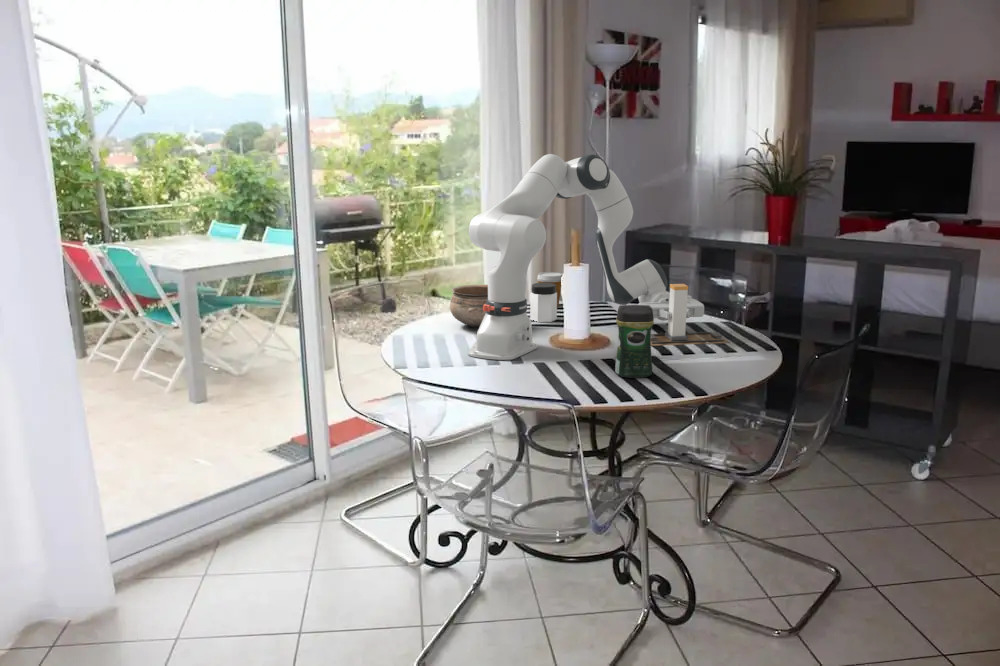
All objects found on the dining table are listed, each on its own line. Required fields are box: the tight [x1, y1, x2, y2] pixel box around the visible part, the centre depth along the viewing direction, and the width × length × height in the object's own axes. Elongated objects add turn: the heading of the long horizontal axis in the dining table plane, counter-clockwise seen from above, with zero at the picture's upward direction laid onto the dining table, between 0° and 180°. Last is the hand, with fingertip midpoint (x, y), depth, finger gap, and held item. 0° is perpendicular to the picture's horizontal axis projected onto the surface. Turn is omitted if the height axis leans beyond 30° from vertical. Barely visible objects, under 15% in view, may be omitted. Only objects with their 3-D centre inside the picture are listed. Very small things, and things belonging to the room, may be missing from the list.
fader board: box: [651, 331, 732, 347], centre depth 242 cm, size 26×13×2 cm, turn 97°
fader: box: [664, 283, 689, 340], centre depth 240 cm, size 5×6×16 cm
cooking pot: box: [449, 284, 488, 330], centre depth 262 cm, size 25×19×12 cm
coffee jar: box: [614, 304, 655, 379], centre depth 209 cm, size 10×8×19 cm
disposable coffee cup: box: [536, 271, 563, 308], centre depth 290 cm, size 10×10×12 cm
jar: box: [529, 282, 558, 323], centre depth 270 cm, size 9×8×12 cm
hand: (678, 315), depth 240 cm, fingers closed on fader, 4 cm apart
